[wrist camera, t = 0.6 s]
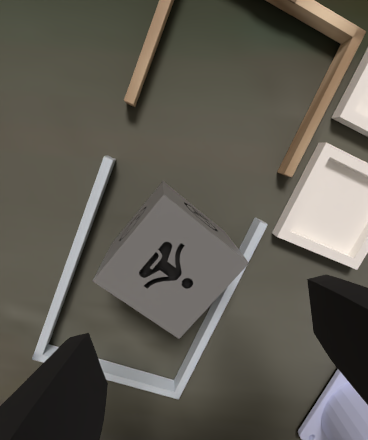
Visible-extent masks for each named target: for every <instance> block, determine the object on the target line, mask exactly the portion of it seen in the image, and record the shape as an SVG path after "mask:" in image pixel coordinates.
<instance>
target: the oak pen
mask: <svg viewBox="0 0 368 440" xmlns="http://www.w3.org/2000/svg"><path fill="white" fill-rule="evenodd" d="M266 1H267V2H269V3H271V4H272V5H274V6H276V7H278V8H279V9H281V10H283V11H285V12H286V13H288V14H290V15H292V16H293V17H295V18H297V19H298V20H300V21H302V22H304V23H305V24H307V25H309V26H311V27H312V28H314V29H316V30H318V31H319V32H321V33H323V34H325V35H326V36H328V37H330V38H331V39H333V40H335V41H337V42H338V43H340V44H341V45H340V47H339V49H338V51H337V53H336V55H335V57H334V59H333V61H332V63H331V65H330V67H329V69H328V71H327V73H326V75H325V77H324V79H323V81H322V83H321V85H320V87H319V89H318V91H317V93H316V95H315V97H314V99H313V101H312V103H311V105H310V107H309V109H308V111H307V113H306V115H305V117H304V119H303V121H302V123H301V125H300V127H299V129H298V131H297V133H296V135H295V137H294V139H293V141H292V143H291V145H290V147H289V149H288V151H287V153H286V155H285V158H284V160H283V162H282V164H281V166H280V168H279V170H278V173H280V174H282V175H284V176H288V177H292V176H293V174H294V172H295V170H296V168H297V166H298V164H299V162H300V160H301V158H302V156H303V154H304V152H305V150H306V149H307V147H308V145H309V143H310V141H311V139H312V137H313V135H314V133H315V131H316V129H317V127H318V125H319V123H320V121H321V119H322V117H323V115H324V113H325V111H326V109H327V107H328V105H329V103H330V101H331V99H332V98H333V96H334V94H335V92H336V90H337V88H338V86H339V84H340V82H341V80H342V78H343V76H344V74H345V72H346V70H347V68H348V66H349V64H350V62H351V60H352V58H353V56H354V54H355V52H356V50H357V49H358V47H359V45H360V43H361V41H362V39H363V37H364V35H365V33H366V31H364V30H363V29H361V28H359V27H358V26H356V25H354V24H353V23H351V22H349V21H348V20H346V19H344V18H343V17H341V16H339V15H338V14H336V13H334V12H333V11H331V10H329V9H328V8H326V7H324V6H323V5H321V4H319V3H318V2H316V1H314V0H266ZM173 2H174V0H159V3H158V6H157V9H156V12H155V14H154V17H153V20H152V23H151V26H150V29H149V31H148V34H147V37H146V40H145V43H144V45H143V48H142V51H141V54H140V57H139V59H138V62H137V65H136V68H135V71H134V74H133V76H132V79H131V82H130V85H129V88H128V90H127V93H126V96H125V99H124V101H125V102H126V103H127V104H129V105H131V106H133V107H135V106H136V103H137V101H138V98H139V95H140V93H141V90H142V87H143V84H144V82H145V79H146V76H147V73H148V71H149V68H150V65H151V62H152V60H153V57H154V54H155V51H156V49H157V46H158V43H159V41H160V38H161V35H162V32H163V30H164V27H165V24H166V21H167V19H168V16H169V13H170V10H171V8H172V5H173Z"/></svg>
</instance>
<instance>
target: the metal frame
mask: <svg viewBox="0 0 368 440" xmlns="http://www.w3.org/2000/svg"><path fill="white" fill-rule="evenodd" d="M115 161H116V159H114V158H112V157H110V156H104V158H103V161H102V164H101V166H100V169H99V172H98V175H97V178H96V181H95V183H94V186H93V189H92V192H91V195H90V197H89V200H88V203H87V206H86V209H85V211H84V214H83V217H82V220H81V223H80V226H79V228H78V231H77V234H76V237H75V240H74V242H73V245H72V248H71V251H70V254H69V257H68V259H67V262H66V265H65V268H64V271H63V273H62V276H61V279H60V282H59V285H58V287H57V290H56V293H55V296H54V299H53V302H52V304H51V307H50V310H49V313H48V316H47V318H46V321H45V324H44V327H43V330H42V333H41V335H40V338H39V341H38V344H37V347H36V349H35V352H34V355H33V358H32V359H33V360H37V361H40V362H45V361H46V360H47V359H48V358H49V357H50V356H51V355H52V354H53V353H54V352H55V351H56V350H57V349H58V348H59V347H57V346H53V345H50V344H49V342H50V339H51V336H52V333H53V331H54V328H55V325H56V322H57V320H58V317H59V314H60V311H61V309H62V306H63V303H64V300H65V298H66V295H67V292H68V290H69V287H70V284H71V281H72V279H73V276H74V273H75V270H76V268H77V265H78V262H79V259H80V257H81V254H82V251H83V248H84V246H85V243H86V240H87V238H88V235H89V232H90V229H91V227H92V224H93V221H94V218H95V216H96V213H97V210H98V207H99V205H100V202H101V199H102V196H103V194H104V191H105V188H106V186H107V183H108V180H109V177H110V175H111V172H112V169H113V166H114V164H115ZM267 225H268V224H266V223H265V222H264V221H262V220H260V219H258V218H254V220H253V222H252V224H251V226H250V228H249V230H248V232H247V234H246V236H245V238H244V240H243V242H242V244H241V246H240V248H239V250H240V252H241V253H242V254H243V256H244V257H245V258H246V260H247V261H248V262H249V260H250V258H251V256H252V254H253V252H254V251H255V249H256V247H257V245H258V243H259V241H260V239H261V237H262V235H263V233H264V231H265V229H266V227H267ZM245 268H246V267H245ZM245 268H244V269H243V271H242V272H241V273H240V274H239V275H238V276H237V277H236V278H235V279H234V280H233V281H232V282H231V284H230V285H229V286H228V287H227V288H226V289H225V290H224V291H223V292H222V293H221V294H220V295H219V296H218V298H217V299H216V300H215V301H214V302H213V303H212V305H211V307H210V309H209V311H208V313H207V315H206V317H205V319H204V321H203V323H202V325H201V327H200V329H199V331H198V333H197V335H196V337H195V339H194V341H193V343H192V345H191V347H190V349H189V351H188V353H187V355H186V357H185V359H184V361H183V363H182V365H181V367H180V369H179V371H178V373H177V375H176V377H175V379H174V380H172V379H168V378H165V377H161V376H158V375H154V374H151V373H147V372H144V371H140V370H137V369H133V368H130V367H126V366H123V365H119V364H116V363H112V362H109V361H105V360H102V359H99V362H100V365H101V367H102V370H103V373H104V375H105V378H106V380H109V381H113V382H117V383H120V384H124V385H128V386H131V387H135V388H139V389H142V390H146V391H150V392H153V393H157V394H160V395H164V396H168V397H171V398H175V399H179V398H180V396H181V394H182V392H183V390H184V388H185V386H186V384H187V382H188V380H189V378H190V376H191V374H192V372H193V370H194V368H195V366H196V364H197V362H198V360H199V358H200V356H201V354H202V352H203V351H204V349H205V347H206V345H207V343H208V341H209V339H210V337H211V335H212V333H213V331H214V329H215V327H216V325H217V323H218V321H219V319H220V317H221V315H222V313H223V311H224V309H225V307H226V305H227V303H228V301H229V300H230V298H231V296H232V294H233V292H234V290H235V288H236V286H237V284H238V282H239V280H240V278H241V276H242V274H243V272H244V270H245Z"/></svg>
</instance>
